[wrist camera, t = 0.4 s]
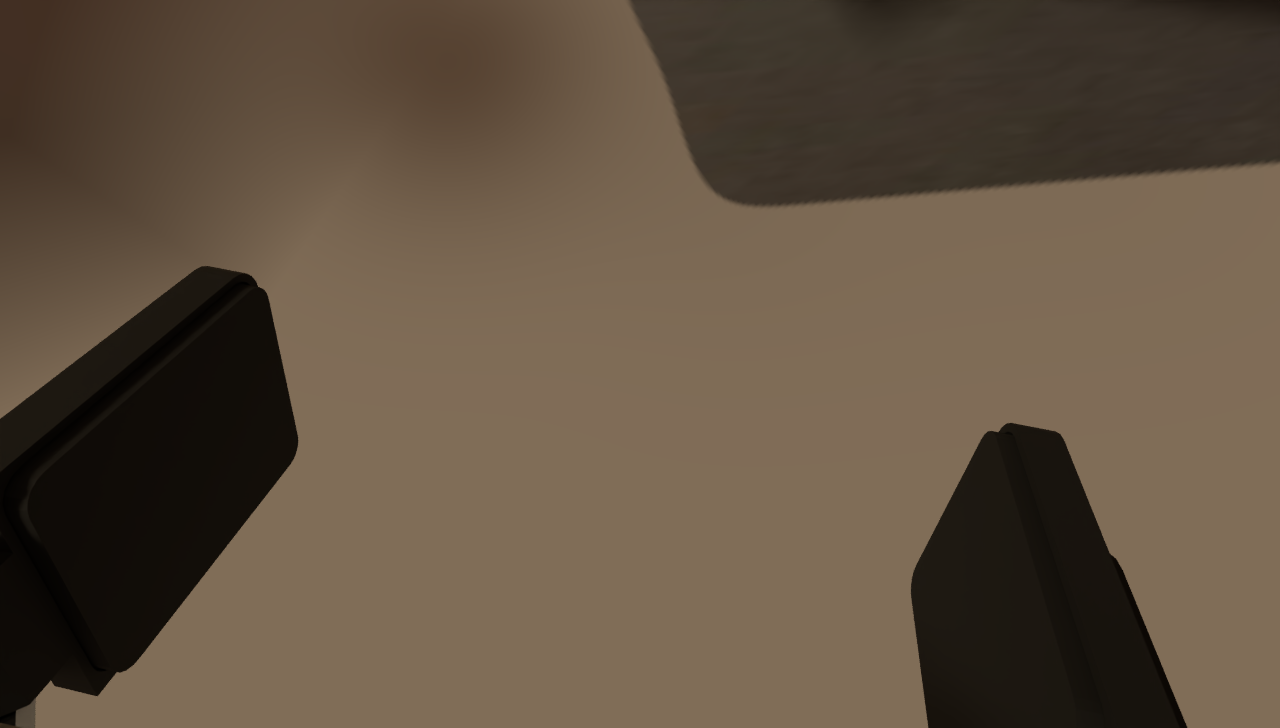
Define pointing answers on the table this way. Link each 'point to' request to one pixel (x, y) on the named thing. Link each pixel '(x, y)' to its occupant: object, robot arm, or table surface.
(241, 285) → the robot arm
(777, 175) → the table surface
